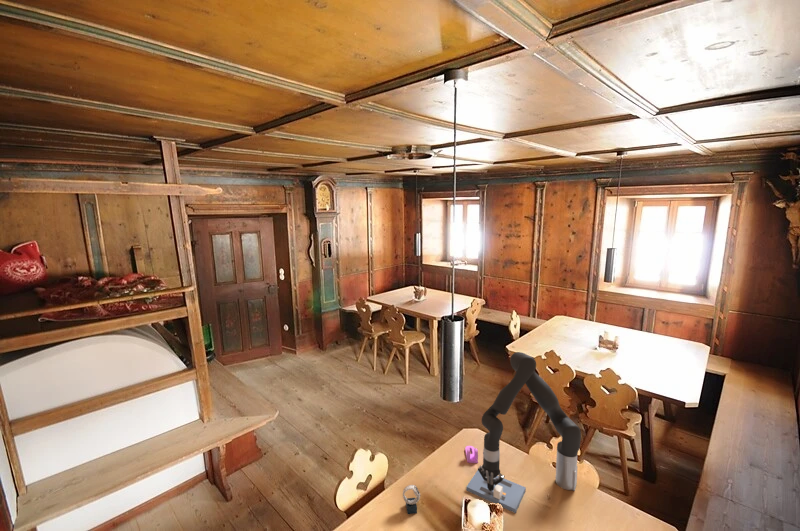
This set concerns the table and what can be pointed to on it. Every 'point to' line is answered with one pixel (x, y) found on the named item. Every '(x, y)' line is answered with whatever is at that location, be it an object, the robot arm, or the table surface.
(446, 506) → the table surface
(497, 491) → the tab
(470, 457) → the bracket
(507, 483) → the switch bank
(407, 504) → the watch
